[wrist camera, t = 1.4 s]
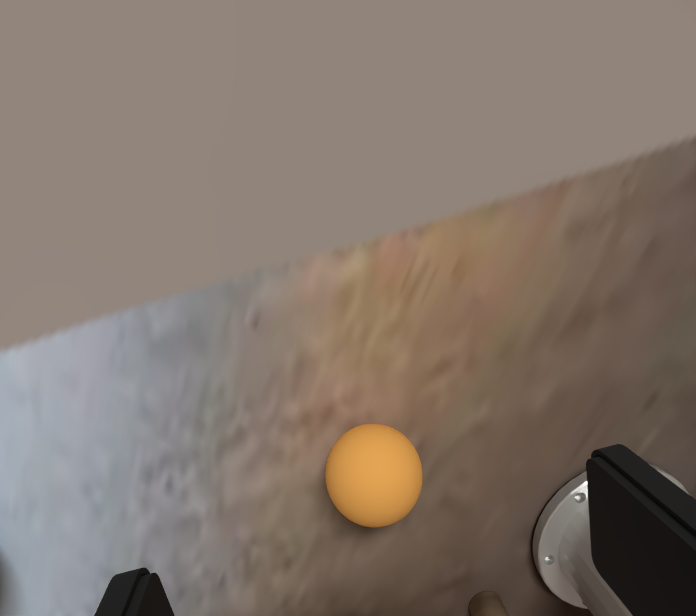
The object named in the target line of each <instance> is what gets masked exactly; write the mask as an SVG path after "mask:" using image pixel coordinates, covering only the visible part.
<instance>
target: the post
mask: <svg viewBox="0 0 696 616" xmlns="http://www.w3.org/2000/svg"><path fill="white" fill-rule="evenodd" d="M469 611H470V613H471V616H509V615H508V613H507V611H506V609H505V607H504V605H503V603H502V601H501V599H500V597H499V596H498V594H496V593H494V592H491V591H484V592H481V593H479V594H477V595H475V596H474V597H473V598H472V600H471V601H470V604H469Z"/></svg>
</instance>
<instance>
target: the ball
mask: <svg viewBox="0 0 696 616" xmlns="http://www.w3.org/2000/svg"><path fill="white" fill-rule="evenodd" d="M422 478H423V474H422V466H421V462H420V458H419V456H418V453H417V451H416V450H415V448H414V446H413V445H412V443H411V442H410V441H409V440H408V439H407V438H406V437H405V436H404V435H403V434H402V433H400V432H399V431H397V430H395V429H393V428H391V427H389V426H386V425H381V424H364V425H360V426H357V427H355V428H352V429H351V430H349V431H347V432H346V433H345V434H343V435H342V436H341V437H340V438H339V439H338V440H337V442H336V443H335V444H334V446H333V448H332V449H331V451H330V453H329V456H328V459H327V463H326V469H325V480H326V486H327V490H328V493H329V496H330V498H331V500H332V502H333V504H334V505H335V506H336V508H337V509H338V510H339V511H340V512H341V514H343V515H344V516H345V517H346V518H348V519H349V520H351V521H352V522H354V523H357V524H359V525H362V526H366V527H383V526H388V525H391V524H393V523H395V522H397V521H399V520H401V519H402V518H403V517H405V516H406V515H407V514H408V513H409V512H410V510H411V509H412V508H413V506H414V505H415V503H416V502H417V500H418V497H419V494H420V491H421V487H422Z"/></svg>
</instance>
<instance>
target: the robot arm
mask: <svg viewBox="0 0 696 616" xmlns="http://www.w3.org/2000/svg"><path fill="white" fill-rule="evenodd" d="M533 558H534V561H535V565H536V568H537V570H538V572H539V574H540V575H541V577H542V579H543V580H544V582H545V584H546V585H547V586H548V587H549V589H550V590H551V591H552V593H554V594H555V595H556V596H557V597H559V598H560V599H561V600H563V601H565V602H567V603H569V604H571V605H573V606H577V607H580V608H585V609H589V611H590V612H591V614H592V615H593V616H696V500H695V499H694V498H693V497H691V496H690V495H689V493H688V492H687V491H686V489H685V488H684V487H683V485H682V484H681V483H680V482H678V481H677V480H676V479H675V478H673V477H672V476H671V475H670V474H668V473H667V472H665V471H663V470H662V469H660V468H659V467H657V466H654V465H651V464H648V463H647V462H645V461H644V460H643V459H641V458H640V457H639V456H637V455H636V454H635V453H634V452H632V451H631V450H630V449H628V448H627V447H625V446H624V445H621V444H616V445H612V446H609V447H605V448H601V449H597V450H594V451H593V452H592V454H591V459H588V460H587V462H586V471H585V472H583V473H582V474H580V475H579V476H577V477H575V478H574V479H572V480H571V481H569V482H568V483H567V484H566V485H565V486H564V487H562V488H561V489H560V490H559V491H558V492H557V493H556V494H555V495H554V497H553V498H552V499H551V500H550V501H549V503H548V504H547V506H546V507H545V509H544V511H543V512H542V514H541V516H540V518H539V520H538V523H537V526H536V528H535V532H534V538H533ZM94 616H174V613H173V611H172V608H171V606H170V603H169V601H168V598H167V596H166V593H165V591H164V588H163V586H162V583H161V581H160V578H159V576H158V575H157V574H156V573H151V574H150V572H149V571H148V569H146V568H140V569H136V570H132V571H128V572H124V573H121V574H117V575H115V576H114V577H113V578H112V579H111V581H110V583H109V585H108V587H107V589H106V592H105V594H104V596H103V598H102V600H101V602H100V605H99V607H98V609H97V611H96V613H95V615H94Z"/></svg>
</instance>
